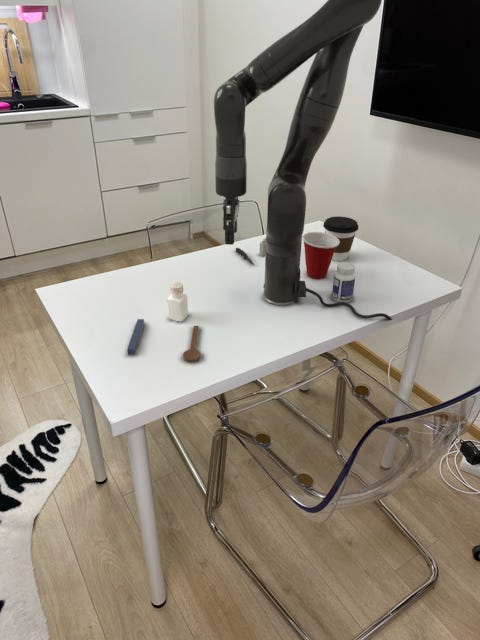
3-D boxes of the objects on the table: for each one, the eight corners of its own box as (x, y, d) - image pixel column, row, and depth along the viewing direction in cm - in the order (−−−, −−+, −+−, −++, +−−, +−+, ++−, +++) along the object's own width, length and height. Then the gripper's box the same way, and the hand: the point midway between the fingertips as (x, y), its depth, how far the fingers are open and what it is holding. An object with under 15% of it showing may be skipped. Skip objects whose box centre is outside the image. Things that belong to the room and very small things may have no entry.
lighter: (262, 256, 159) (263, 233, 154) (259, 254, 160) (259, 231, 155) (278, 250, 163) (279, 227, 158) (274, 248, 164) (275, 226, 159)
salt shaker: (168, 319, 125) (165, 287, 120) (175, 312, 129) (172, 280, 124) (182, 322, 124) (180, 289, 119) (189, 315, 127) (187, 282, 122)
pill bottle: (354, 295, 137) (359, 263, 132) (349, 305, 132) (354, 272, 127) (334, 291, 139) (338, 259, 134) (328, 300, 134) (332, 267, 129)
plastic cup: (334, 285, 142) (339, 247, 136) (297, 281, 144) (300, 243, 138) (336, 269, 151) (340, 232, 145) (301, 265, 153) (304, 229, 147)
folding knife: (254, 266, 152) (254, 261, 151) (251, 267, 152) (251, 261, 151) (237, 251, 162) (237, 245, 161) (234, 251, 162) (234, 245, 161)
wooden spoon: (204, 328, 122) (204, 325, 122) (200, 362, 110) (199, 359, 110) (188, 328, 122) (188, 325, 122) (182, 362, 110) (182, 359, 110)
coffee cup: (357, 264, 154) (362, 228, 148) (322, 264, 154) (326, 228, 148) (350, 250, 163) (355, 216, 157) (318, 250, 163) (321, 215, 157)
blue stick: (144, 324, 123) (144, 319, 123) (134, 354, 112) (134, 349, 112) (138, 324, 123) (137, 319, 123) (127, 354, 112) (127, 349, 112)
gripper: (244, 182, 111) (243, 249, 119) (248, 167, 123) (247, 229, 132) (211, 181, 112) (213, 247, 120) (218, 166, 124) (219, 228, 132)
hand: (231, 237), depth 126 cm, fingers open, 8 cm apart
